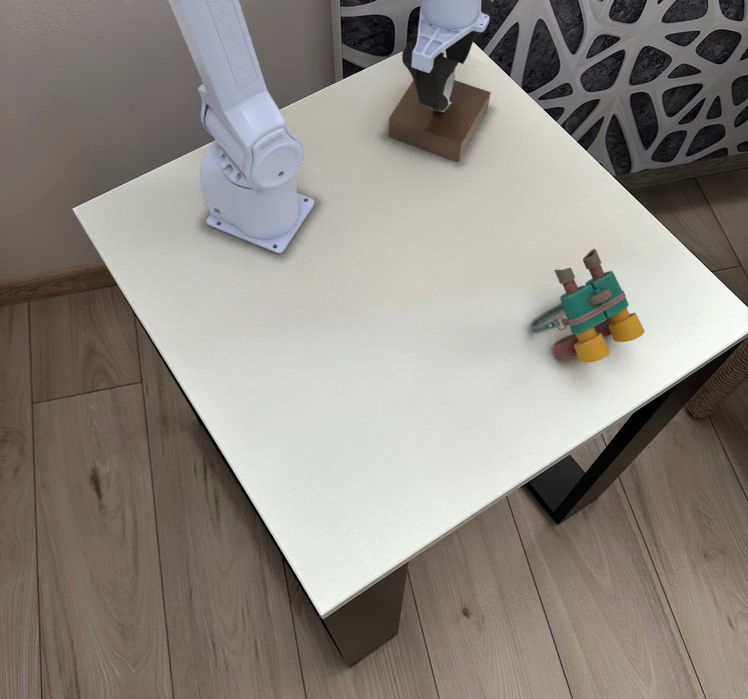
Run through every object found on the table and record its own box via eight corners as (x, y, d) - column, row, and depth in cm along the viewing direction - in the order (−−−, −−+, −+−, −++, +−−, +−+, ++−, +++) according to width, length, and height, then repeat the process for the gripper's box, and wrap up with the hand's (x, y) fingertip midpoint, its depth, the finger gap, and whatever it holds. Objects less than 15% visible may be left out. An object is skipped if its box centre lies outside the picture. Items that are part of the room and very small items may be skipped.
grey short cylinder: (423, 117, 88) (426, 83, 84) (436, 87, 90) (439, 52, 86) (448, 123, 88) (452, 89, 83) (459, 93, 90) (464, 58, 85)
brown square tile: (388, 136, 91) (388, 118, 88) (419, 87, 94) (420, 68, 92) (458, 162, 89) (461, 143, 86) (487, 111, 93) (490, 91, 90)
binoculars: (534, 367, 79) (588, 371, 69) (497, 286, 77) (547, 279, 68) (605, 326, 81) (667, 324, 71) (570, 247, 80) (628, 234, 70)
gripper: (464, 29, 70) (450, 136, 82) (520, -61, 76) (499, 51, 88) (394, 6, 71) (390, 115, 83) (454, -80, 78) (443, 33, 90)
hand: (442, 81), depth 86 cm, fingers open, 7 cm apart
